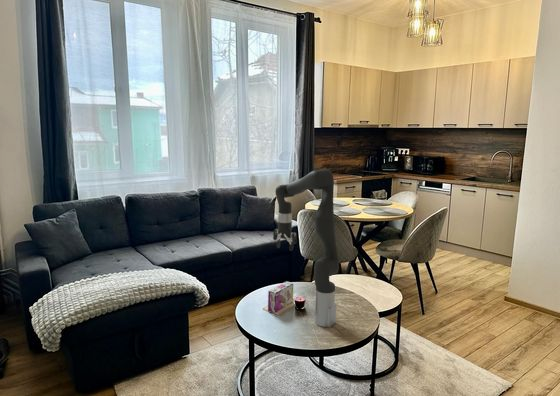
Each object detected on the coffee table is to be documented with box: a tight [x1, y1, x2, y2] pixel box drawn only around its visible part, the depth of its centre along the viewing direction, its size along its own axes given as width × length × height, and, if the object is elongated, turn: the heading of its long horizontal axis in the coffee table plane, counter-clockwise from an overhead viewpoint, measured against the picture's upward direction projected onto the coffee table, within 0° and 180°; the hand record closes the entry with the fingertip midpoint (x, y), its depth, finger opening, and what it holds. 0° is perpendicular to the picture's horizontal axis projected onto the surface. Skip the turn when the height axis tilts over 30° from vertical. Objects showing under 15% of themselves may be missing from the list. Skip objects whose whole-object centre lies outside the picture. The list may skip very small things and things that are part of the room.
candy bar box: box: [267, 280, 294, 314], centre depth 202 cm, size 11×5×16 cm
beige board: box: [262, 298, 295, 317], centre depth 205 cm, size 12×19×1 cm, turn 144°
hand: (284, 249), depth 211 cm, fingers open, 8 cm apart
